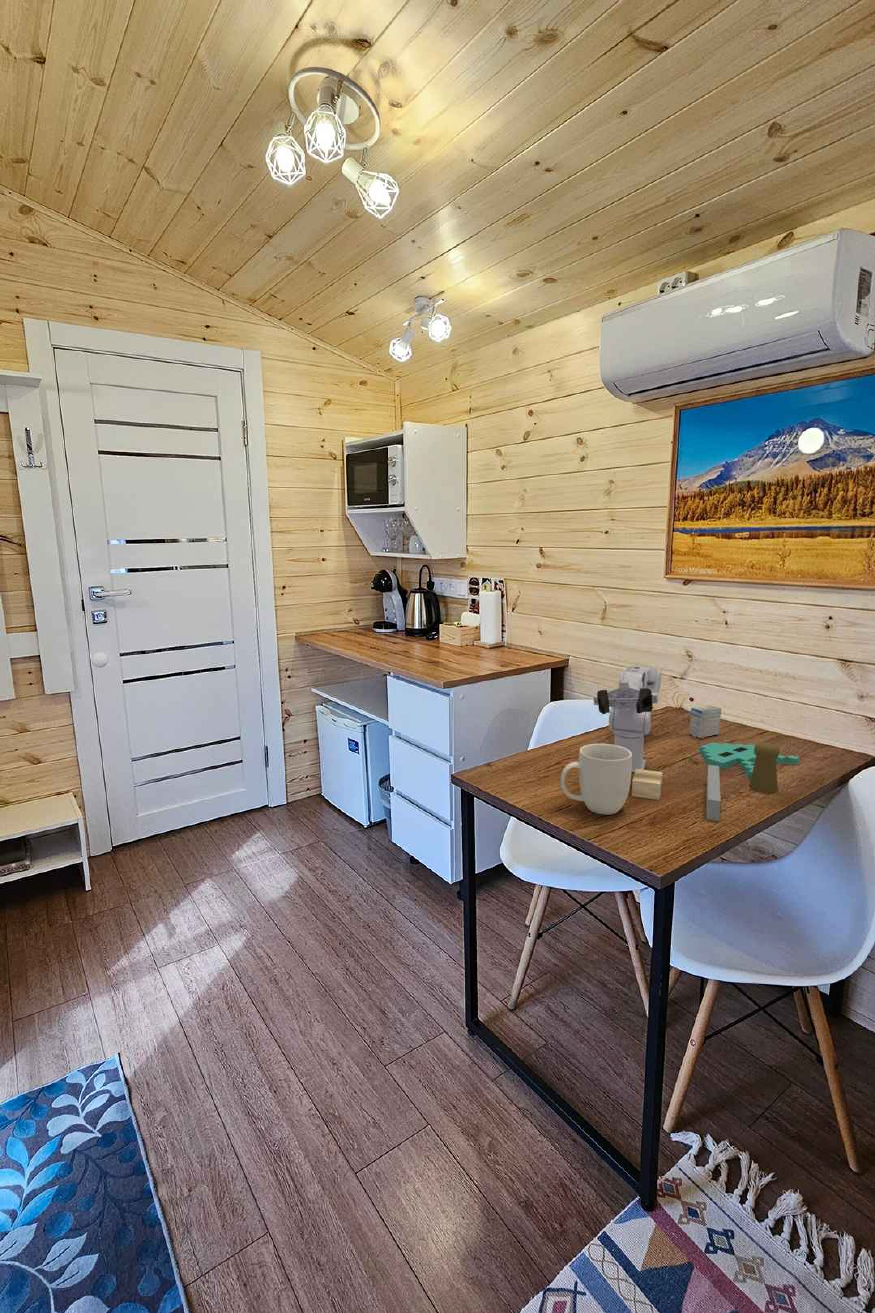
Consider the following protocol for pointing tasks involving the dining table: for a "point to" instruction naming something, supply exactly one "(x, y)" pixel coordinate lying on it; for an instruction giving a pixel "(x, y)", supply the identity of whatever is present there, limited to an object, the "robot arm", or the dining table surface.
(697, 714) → the medicine box
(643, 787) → the maple block
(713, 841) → the dining table surface
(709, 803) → the board
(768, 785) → the cork
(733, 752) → the alien figure
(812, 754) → the dining table surface
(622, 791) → the mug
